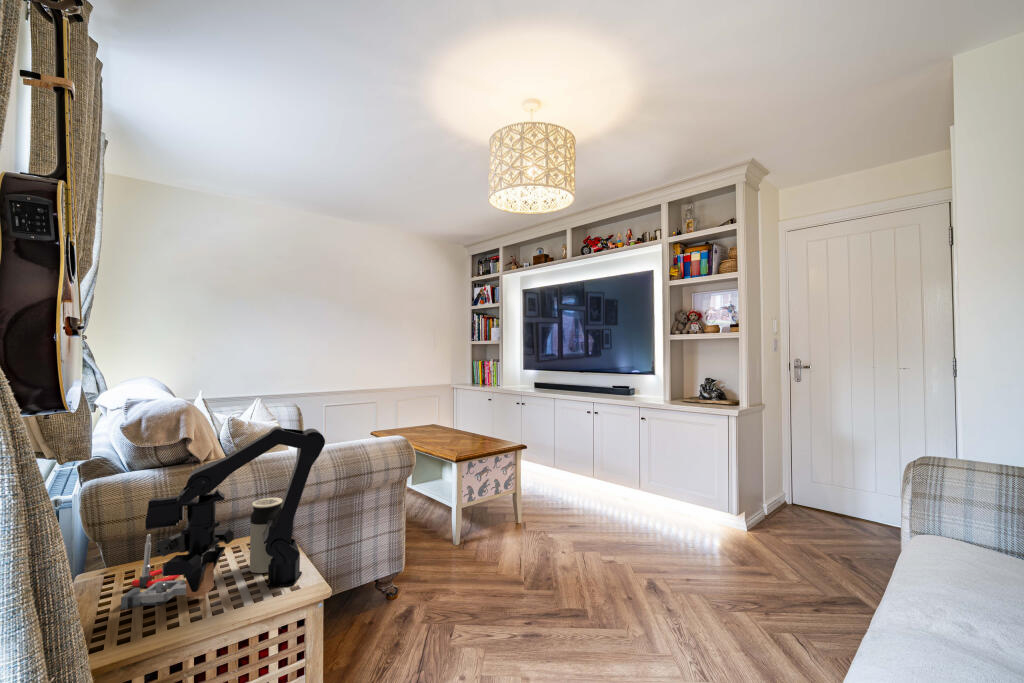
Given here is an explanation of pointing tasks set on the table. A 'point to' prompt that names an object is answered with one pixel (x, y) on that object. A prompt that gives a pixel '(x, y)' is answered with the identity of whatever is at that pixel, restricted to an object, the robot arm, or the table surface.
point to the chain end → (179, 588)
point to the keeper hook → (132, 596)
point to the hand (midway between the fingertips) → (200, 586)
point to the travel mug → (261, 532)
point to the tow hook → (146, 574)
